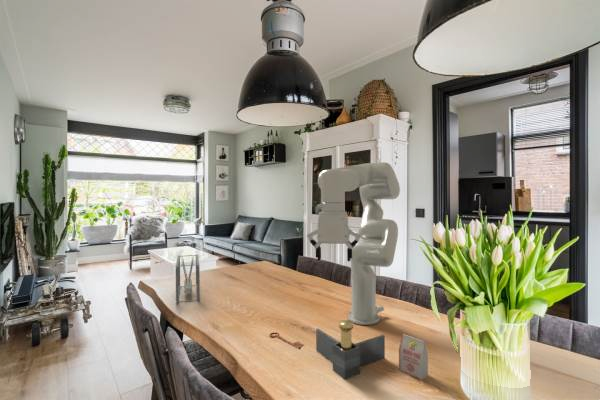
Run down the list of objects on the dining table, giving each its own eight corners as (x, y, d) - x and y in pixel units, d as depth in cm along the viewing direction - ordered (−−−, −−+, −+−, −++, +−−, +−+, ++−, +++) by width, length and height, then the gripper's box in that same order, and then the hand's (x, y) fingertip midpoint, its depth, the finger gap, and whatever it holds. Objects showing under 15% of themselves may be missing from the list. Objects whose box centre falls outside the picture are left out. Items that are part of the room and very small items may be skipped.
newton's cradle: (199, 302, 149) (199, 264, 148) (176, 304, 145) (175, 266, 145) (198, 284, 177) (197, 253, 177) (178, 286, 173) (177, 254, 173)
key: (308, 347, 106) (279, 332, 117) (308, 344, 106) (280, 329, 117) (295, 351, 102) (267, 335, 113) (295, 348, 102) (267, 333, 113)
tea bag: (405, 365, 93) (405, 331, 93) (427, 375, 88) (427, 339, 88) (398, 370, 90) (398, 335, 90) (421, 380, 85) (421, 343, 85)
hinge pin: (347, 366, 92) (346, 319, 92) (356, 373, 89) (356, 323, 88) (336, 370, 90) (336, 322, 90) (345, 377, 87) (344, 327, 86)
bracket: (352, 339, 110) (352, 317, 109) (390, 361, 95) (390, 337, 94) (310, 352, 101) (310, 328, 101) (344, 379, 86) (344, 352, 86)
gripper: (304, 208, 100) (305, 262, 101) (359, 208, 96) (360, 263, 97) (308, 207, 107) (309, 256, 108) (360, 206, 104) (361, 258, 105)
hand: (333, 260), depth 103 cm, fingers open, 9 cm apart
